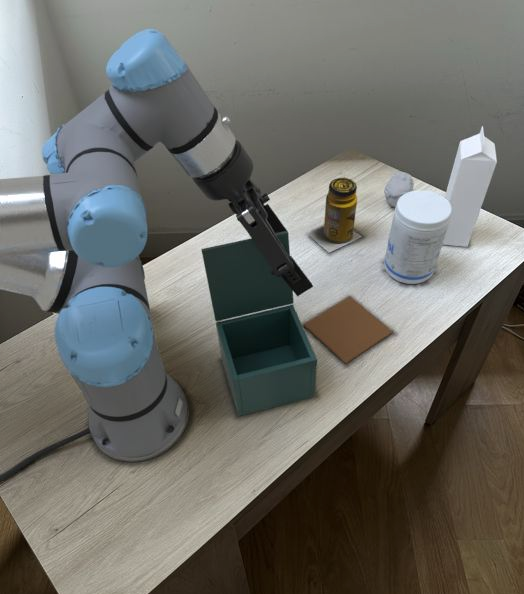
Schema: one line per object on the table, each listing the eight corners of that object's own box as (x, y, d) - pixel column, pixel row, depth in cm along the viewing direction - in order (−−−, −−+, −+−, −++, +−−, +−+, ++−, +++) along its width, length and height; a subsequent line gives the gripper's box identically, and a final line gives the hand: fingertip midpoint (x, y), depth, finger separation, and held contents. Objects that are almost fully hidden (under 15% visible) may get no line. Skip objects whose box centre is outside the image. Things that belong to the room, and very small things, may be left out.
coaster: (345, 364, 87) (345, 362, 86) (303, 325, 92) (303, 324, 92) (392, 333, 90) (392, 331, 90) (349, 297, 96) (349, 296, 96)
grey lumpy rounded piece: (415, 199, 114) (421, 171, 108) (402, 217, 110) (408, 188, 105) (389, 191, 116) (394, 163, 110) (376, 208, 112) (380, 180, 107)
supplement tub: (380, 253, 103) (391, 189, 92) (427, 251, 103) (445, 187, 92) (388, 287, 97) (401, 224, 86) (438, 285, 97) (459, 221, 86)
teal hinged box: (314, 396, 83) (317, 359, 75) (238, 416, 81) (233, 380, 74) (292, 343, 90) (293, 304, 82) (222, 360, 88) (215, 322, 81)
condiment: (361, 237, 107) (368, 186, 97) (329, 253, 104) (333, 203, 95) (339, 219, 111) (344, 169, 101) (307, 234, 108) (309, 184, 98)
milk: (436, 244, 104) (465, 142, 87) (436, 225, 108) (463, 124, 91) (468, 247, 103) (503, 144, 86) (467, 228, 107) (500, 126, 90)
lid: (288, 232, 74) (286, 230, 75) (202, 251, 72) (201, 248, 73) (293, 303, 82) (292, 301, 82) (215, 321, 80) (214, 319, 81)
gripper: (260, 191, 56) (339, 301, 71) (220, 100, 73) (291, 205, 88) (204, 229, 58) (293, 329, 73) (178, 133, 74) (254, 230, 89)
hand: (292, 262), depth 80 cm, fingers open, 13 cm apart
